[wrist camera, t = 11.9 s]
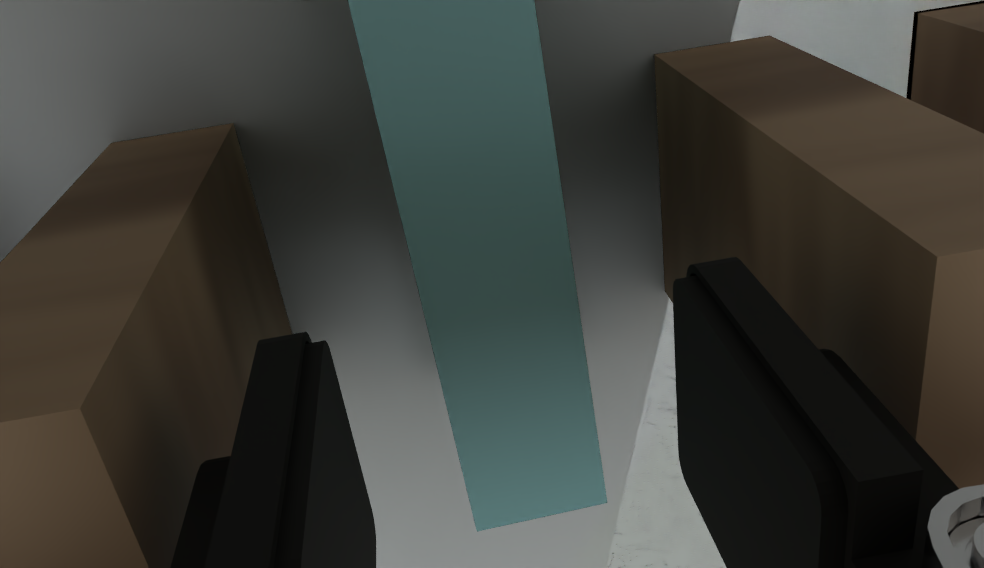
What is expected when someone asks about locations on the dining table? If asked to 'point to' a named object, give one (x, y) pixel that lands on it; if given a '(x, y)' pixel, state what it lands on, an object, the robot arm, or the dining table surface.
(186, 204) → the domino
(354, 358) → the dining table surface
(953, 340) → the domino
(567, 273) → the domino
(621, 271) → the dining table surface
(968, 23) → the domino
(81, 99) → the dining table surface
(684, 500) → the dining table surface
